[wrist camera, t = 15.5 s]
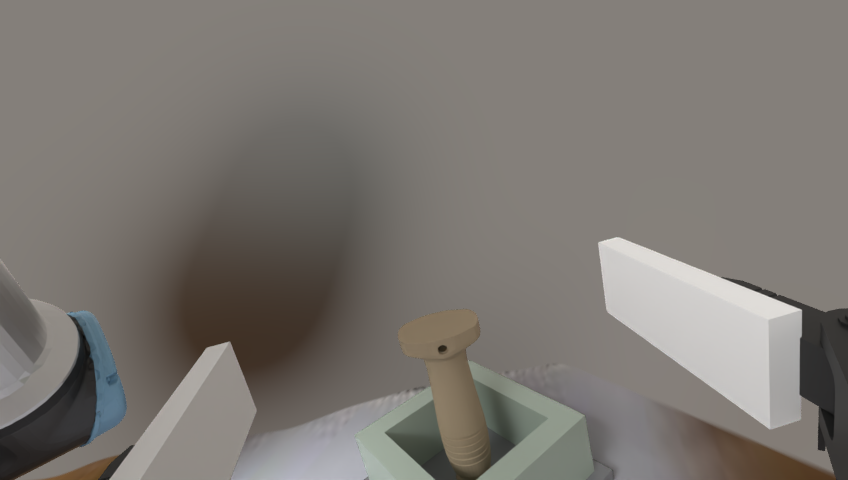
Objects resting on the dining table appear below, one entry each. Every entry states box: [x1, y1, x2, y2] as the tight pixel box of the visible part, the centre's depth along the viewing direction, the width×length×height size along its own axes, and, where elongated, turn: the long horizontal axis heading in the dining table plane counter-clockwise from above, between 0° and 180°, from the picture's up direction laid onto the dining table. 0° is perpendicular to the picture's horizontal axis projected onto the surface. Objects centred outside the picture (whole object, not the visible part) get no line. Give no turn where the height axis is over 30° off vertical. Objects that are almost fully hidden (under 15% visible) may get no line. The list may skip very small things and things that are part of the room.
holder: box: [355, 360, 614, 480], centre depth 37 cm, size 16×16×6 cm
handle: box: [398, 309, 491, 480], centre depth 35 cm, size 5×6×15 cm
